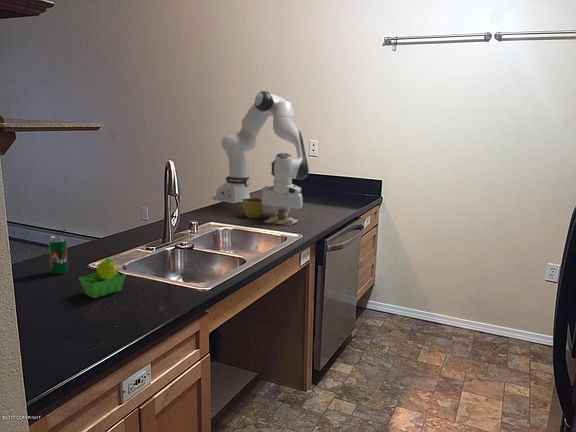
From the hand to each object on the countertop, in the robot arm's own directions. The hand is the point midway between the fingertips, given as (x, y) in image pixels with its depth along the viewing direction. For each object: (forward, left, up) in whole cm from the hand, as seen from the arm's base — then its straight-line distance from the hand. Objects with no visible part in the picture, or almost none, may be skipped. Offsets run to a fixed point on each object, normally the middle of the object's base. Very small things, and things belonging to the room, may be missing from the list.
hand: (281, 215), depth 238 cm
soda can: (-42, -99, -3) cm, 108 cm away
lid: (0, 0, -3) cm, 3 cm away
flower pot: (-16, +2, -3) cm, 16 cm away
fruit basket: (-18, -107, -3) cm, 109 cm away
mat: (0, 0, -3) cm, 3 cm away
